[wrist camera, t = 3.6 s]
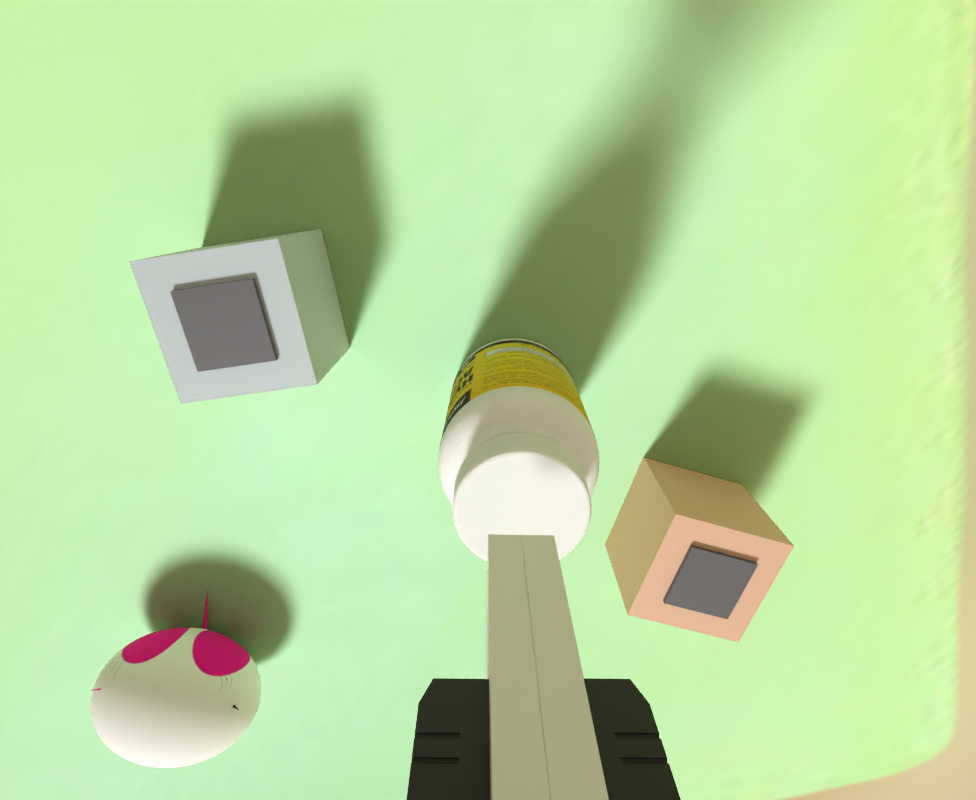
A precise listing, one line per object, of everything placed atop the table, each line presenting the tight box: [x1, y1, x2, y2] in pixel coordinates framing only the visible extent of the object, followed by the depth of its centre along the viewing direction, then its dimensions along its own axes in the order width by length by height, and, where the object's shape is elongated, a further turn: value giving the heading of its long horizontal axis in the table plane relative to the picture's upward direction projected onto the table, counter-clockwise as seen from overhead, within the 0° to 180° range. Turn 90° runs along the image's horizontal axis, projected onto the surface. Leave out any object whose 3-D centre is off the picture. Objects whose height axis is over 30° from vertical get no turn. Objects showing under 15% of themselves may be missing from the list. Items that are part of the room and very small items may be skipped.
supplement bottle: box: [438, 338, 599, 561], centre depth 21 cm, size 5×5×10 cm
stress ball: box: [91, 591, 261, 768], centre depth 28 cm, size 8×8×7 cm
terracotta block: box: [605, 457, 794, 642], centre depth 25 cm, size 5×5×5 cm
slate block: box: [130, 229, 350, 404], centre depth 21 cm, size 5×5×5 cm
